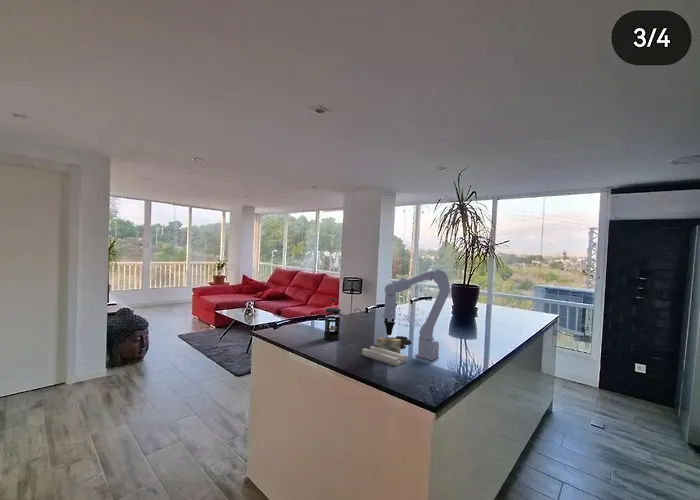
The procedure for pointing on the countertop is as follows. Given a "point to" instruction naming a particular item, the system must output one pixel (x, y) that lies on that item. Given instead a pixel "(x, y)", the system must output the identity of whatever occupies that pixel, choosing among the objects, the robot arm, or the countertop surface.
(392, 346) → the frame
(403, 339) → the figurine
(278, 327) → the countertop surface
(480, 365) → the countertop surface
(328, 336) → the french press
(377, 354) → the ledge
